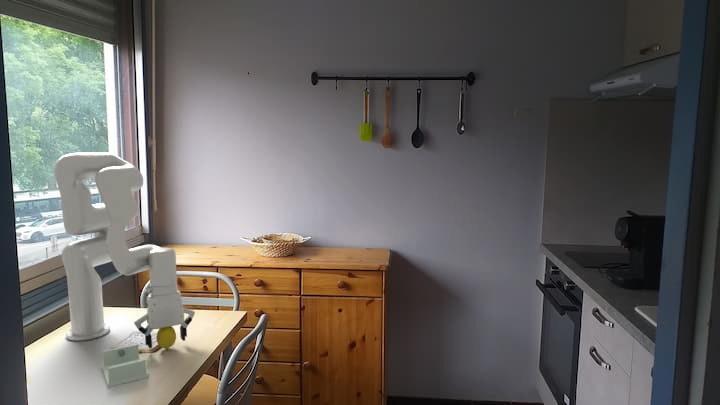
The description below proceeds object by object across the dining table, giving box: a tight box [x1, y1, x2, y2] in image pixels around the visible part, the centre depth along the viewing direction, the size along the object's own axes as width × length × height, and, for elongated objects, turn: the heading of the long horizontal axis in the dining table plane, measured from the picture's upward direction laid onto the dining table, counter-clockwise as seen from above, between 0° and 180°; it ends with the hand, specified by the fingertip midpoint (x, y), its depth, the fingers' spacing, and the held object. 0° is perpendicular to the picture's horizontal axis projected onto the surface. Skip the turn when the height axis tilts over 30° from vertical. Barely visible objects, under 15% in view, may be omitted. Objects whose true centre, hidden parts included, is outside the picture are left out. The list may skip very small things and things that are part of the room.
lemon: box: [156, 326, 177, 350], centre depth 146 cm, size 6×6×8 cm
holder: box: [101, 343, 150, 388], centre depth 132 cm, size 13×10×5 cm
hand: (166, 342), depth 146 cm, fingers open, 9 cm apart
